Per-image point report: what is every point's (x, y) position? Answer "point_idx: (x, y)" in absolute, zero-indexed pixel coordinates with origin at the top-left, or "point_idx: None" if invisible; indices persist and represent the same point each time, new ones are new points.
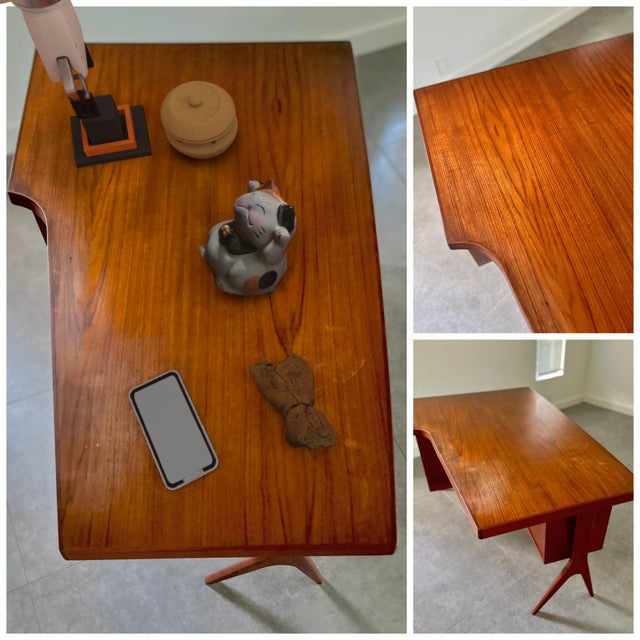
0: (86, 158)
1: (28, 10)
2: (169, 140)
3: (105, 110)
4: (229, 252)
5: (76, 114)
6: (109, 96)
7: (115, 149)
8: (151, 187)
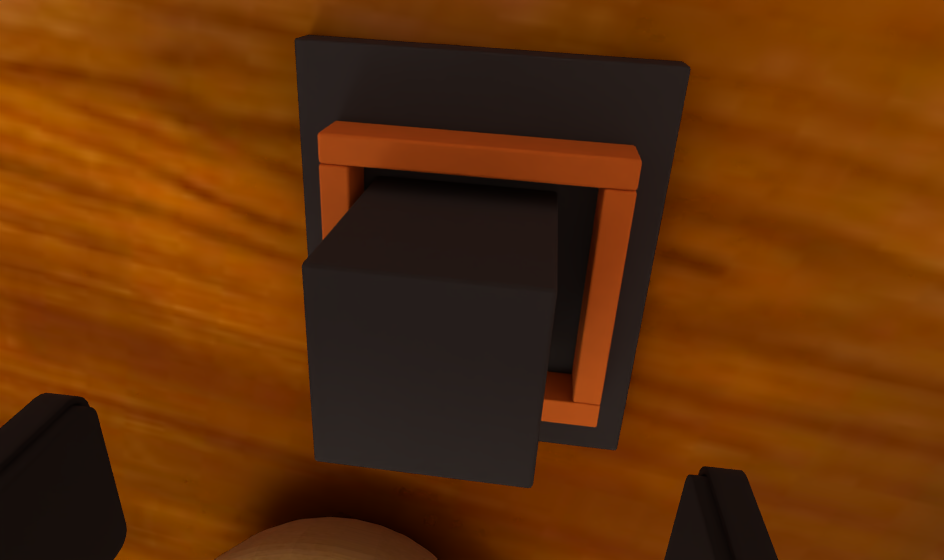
0: (325, 113)
1: None
2: (257, 557)
3: (393, 428)
4: None
5: (5, 427)
6: (510, 476)
7: None
8: (152, 354)
